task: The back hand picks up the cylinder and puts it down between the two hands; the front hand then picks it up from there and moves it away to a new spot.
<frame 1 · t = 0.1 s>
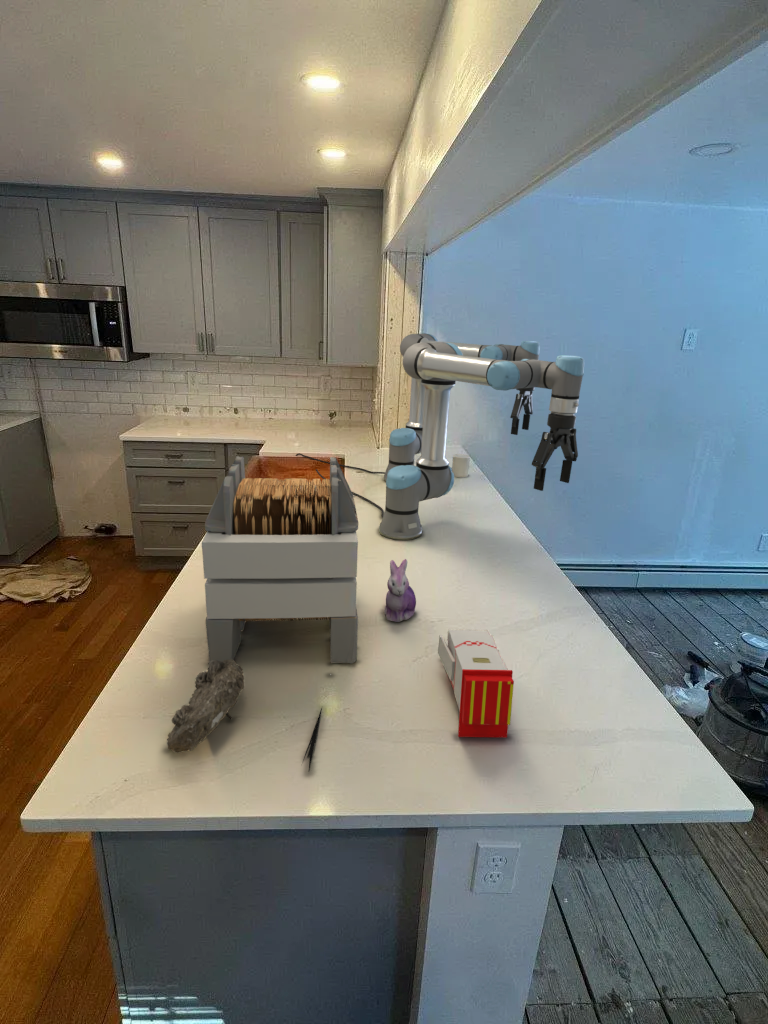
front hand: (551, 485, 166), 28 cm above the counter, tool pointing down, fingers open, 13 cm apart
back hand: (519, 432, 239), 28 cm above the counter, tool pointing down, fingers open, 13 cm apart
figurine: (399, 614, 147), on the counter
fossil: (212, 717, 108), on the counter
record crate stand: (287, 626, 140), on the counter
feather: (319, 719, 109), on the counter
cylinder: (459, 475, 275), on the counter
toy: (469, 691, 119), on the counter
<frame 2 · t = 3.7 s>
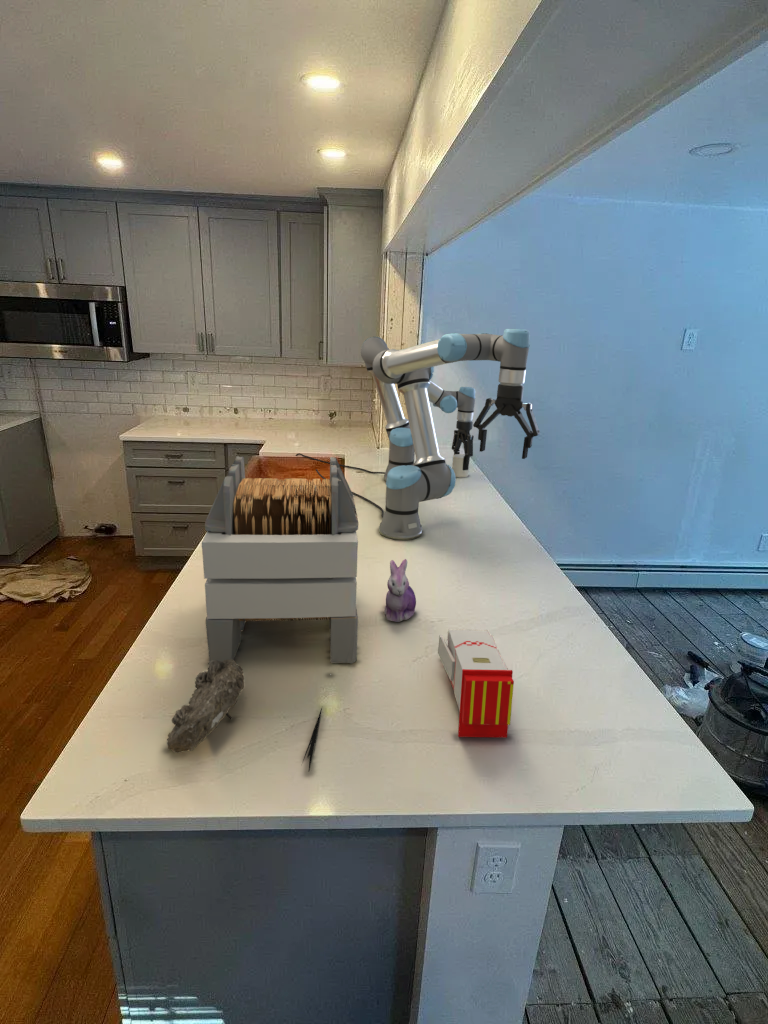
front hand: (502, 454, 174), 34 cm above the counter, tool pointing down, fingers open, 13 cm apart
back hand: (460, 467, 274), 4 cm above the counter, tool pointing down, fingers closed on cylinder, 8 cm apart
cylinder: (459, 475, 275), on the counter, touching back hand
everything else where it was.
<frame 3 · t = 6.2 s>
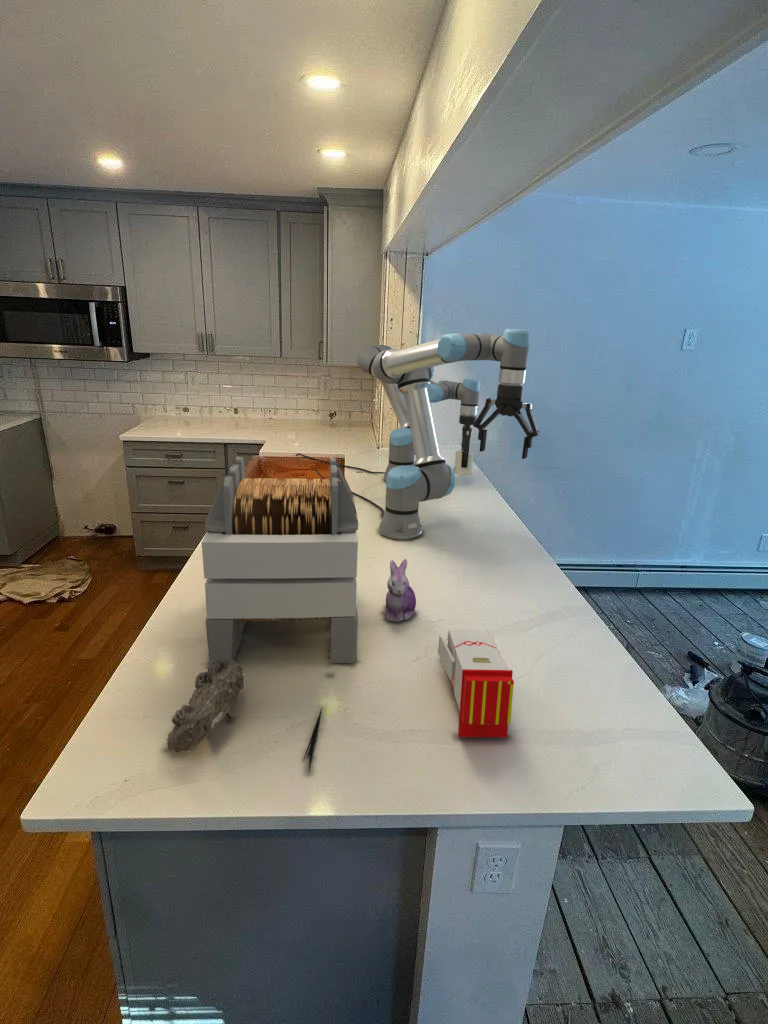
front hand: (502, 454, 174), 34 cm above the counter, tool pointing down, fingers open, 13 cm apart
back hand: (463, 464, 257), 9 cm above the counter, tool pointing down, fingers closed on cylinder, 8 cm apart
cylinder: (462, 473, 259), point 5 cm above the counter, touching back hand
everything else where it was.
when the back hand's fingers open (5 cm above the counter, at t = 8.7 s): cylinder drops 2 cm, on the counter.
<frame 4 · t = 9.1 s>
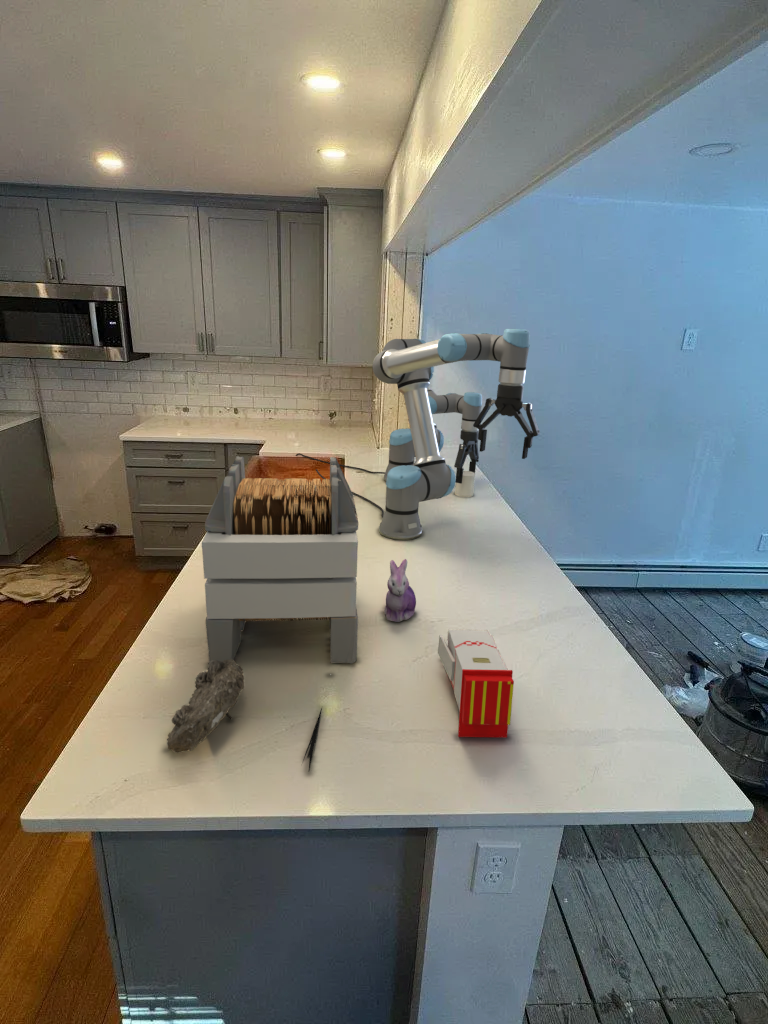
front hand: (502, 454, 174), 34 cm above the counter, tool pointing down, fingers open, 13 cm apart
back hand: (465, 479, 244), 7 cm above the counter, tool pointing down, fingers open, 12 cm apart
cylinder: (463, 494, 246), on the counter
everything else where it was.
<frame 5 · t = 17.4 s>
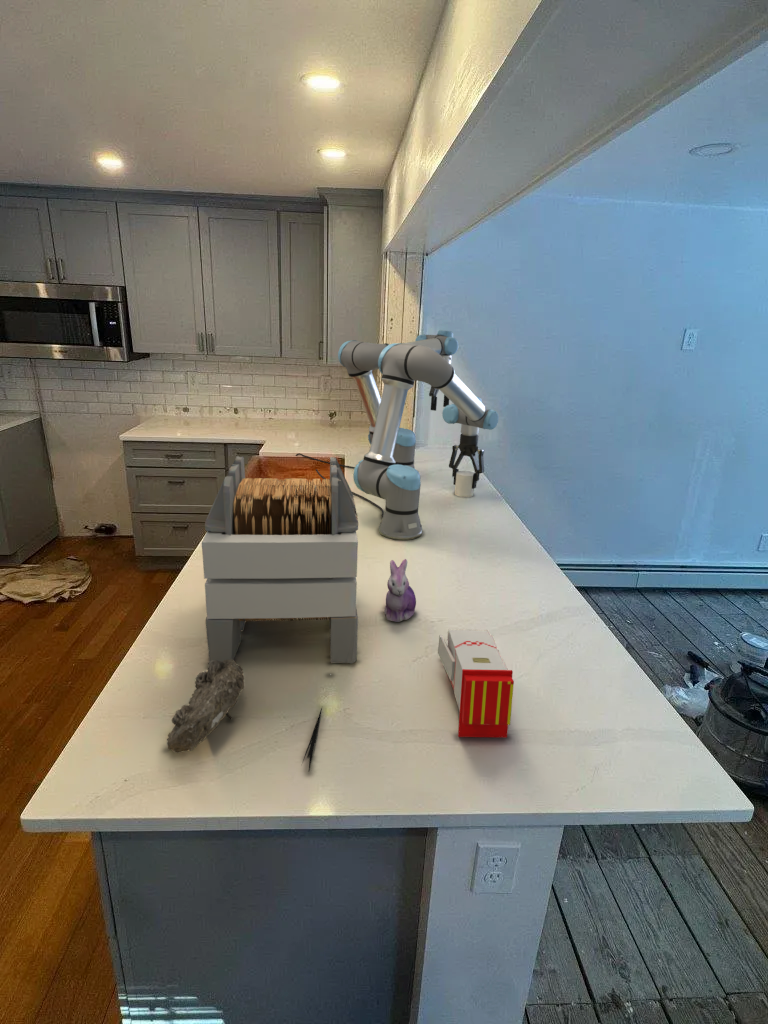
front hand: (464, 485, 245), 4 cm above the counter, tool pointing down, fingers closed on cylinder, 8 cm apart
back hand: (439, 408, 279), 29 cm above the counter, tool pointing down, fingers open, 13 cm apart
cylinder: (463, 494, 246), on the counter, touching front hand
everything else where it was.
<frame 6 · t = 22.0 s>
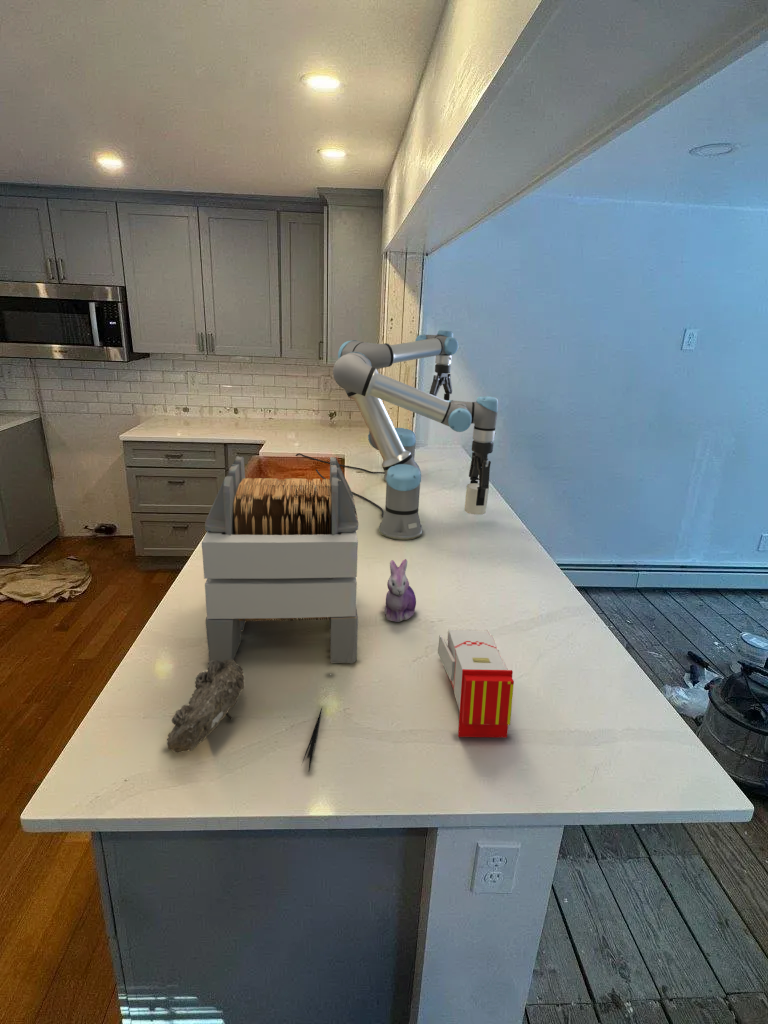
front hand: (476, 501, 209), 9 cm above the counter, tool pointing down, fingers closed on cylinder, 8 cm apart
back hand: (439, 408, 279), 29 cm above the counter, tool pointing down, fingers open, 13 cm apart
cylinder: (475, 510, 211), point 5 cm above the counter, touching front hand
everything else where it was.
when the front hand's fingers open (5 cm above the counter, at t = 26.8 s): cylinder drops 2 cm, on the counter.
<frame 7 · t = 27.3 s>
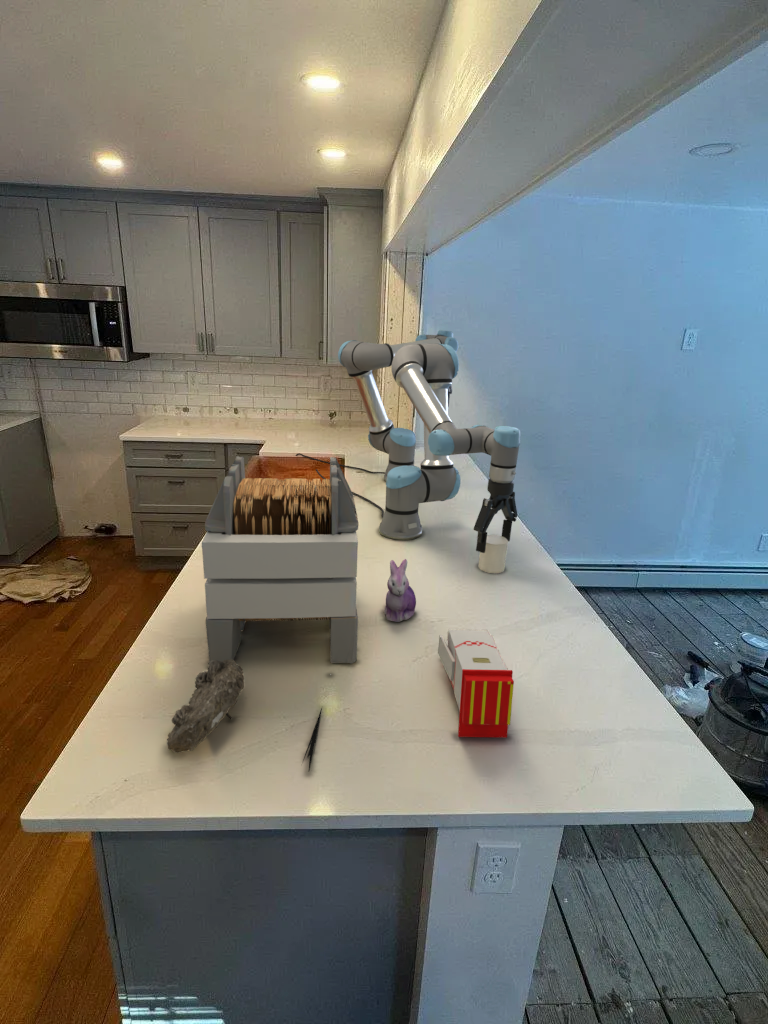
front hand: (493, 545, 174), 7 cm above the counter, tool pointing down, fingers open, 13 cm apart
back hand: (439, 408, 279), 29 cm above the counter, tool pointing down, fingers open, 13 cm apart
cylinder: (491, 567, 177), on the counter
everything else where it was.
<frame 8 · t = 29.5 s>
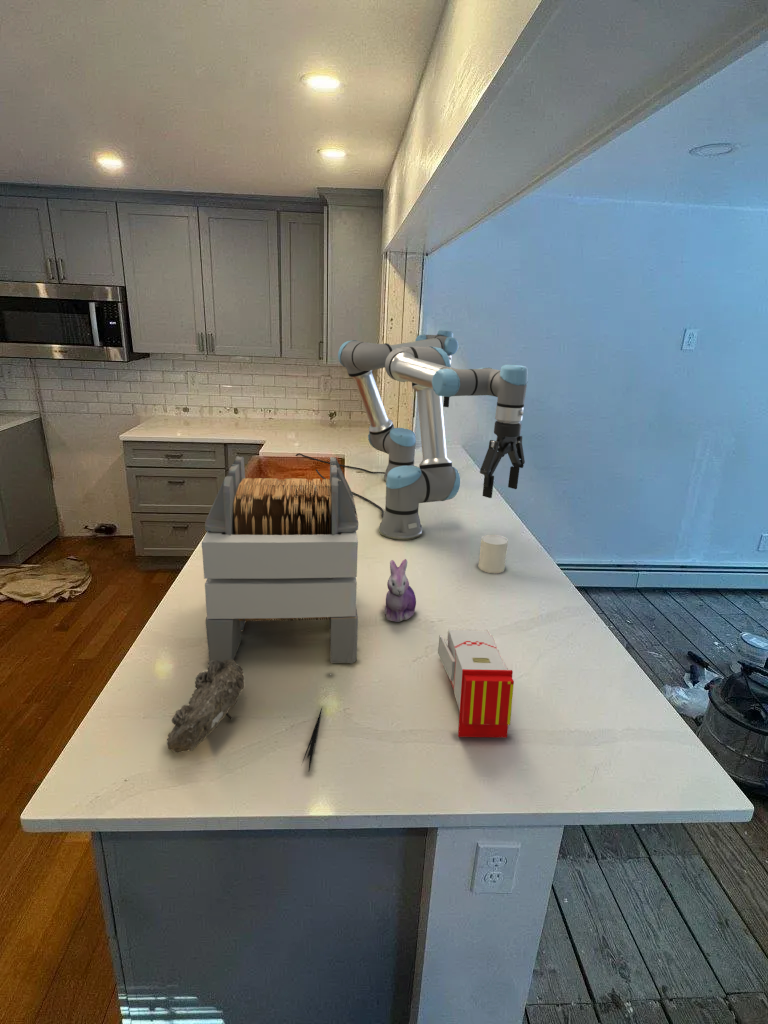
front hand: (500, 492, 168), 25 cm above the counter, tool pointing down, fingers open, 13 cm apart
back hand: (439, 408, 279), 29 cm above the counter, tool pointing down, fingers open, 13 cm apart
nothing on the counter moved.
at the end: cylinder inside the target area (0.0 cm from its centre), on the counter; cylinder tilted 0°; the two hands never held the cylinder at the same time; the front hand is holding nothing; the back hand is holding nothing; cylinder at rest at the end (0.0 cm/s) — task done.
